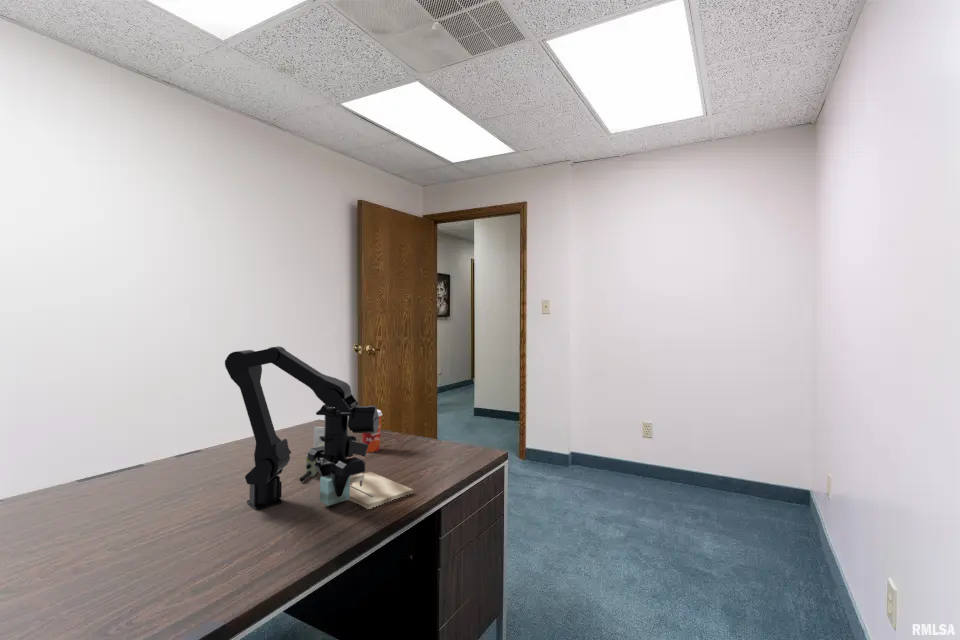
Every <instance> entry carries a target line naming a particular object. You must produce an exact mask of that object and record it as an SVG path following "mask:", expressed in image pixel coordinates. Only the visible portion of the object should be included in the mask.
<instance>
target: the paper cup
mask: <svg viewBox="0 0 960 640" xmlns="http://www.w3.org/2000/svg"><path fill="white" fill-rule="evenodd" d="M377 412H378V417H379V426H378V430H377V433H361V437H362V442H363V443H365V444H368V445H369V446H368V449H367V452H366V453H368V452H371V453H375V452H374V451H377V452H378V450H379V451H380V446H381V445H380V444H381V431H382V430H381V429H382V418H383V417H382V416H383V413H382V410H380V409H377Z"/></svg>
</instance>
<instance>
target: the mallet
mask: <svg viewBox="0 0 960 640" xmlns="http://www.w3.org/2000/svg"><path fill="white" fill-rule="evenodd" d="M319 480H320V481H319V484H320V485H319V502H320V503H323V504H324V505H325V506H328V507H329V506H332V505H335V504H339V503H342V502H345V501H347V500H349V499H350V484H351V483H355V482H358V481H360V486H362V480H364V473H363V472H361V473H358V474H354V475H350V476H349V477H348V480H347V482H346V485H345V488H344V491H343V493H342V496H340V497H337V495H336V492H335V488H334V485H333V481H332V478H331V475H327V476H323V477H321V476H320V478H319Z"/></svg>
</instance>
